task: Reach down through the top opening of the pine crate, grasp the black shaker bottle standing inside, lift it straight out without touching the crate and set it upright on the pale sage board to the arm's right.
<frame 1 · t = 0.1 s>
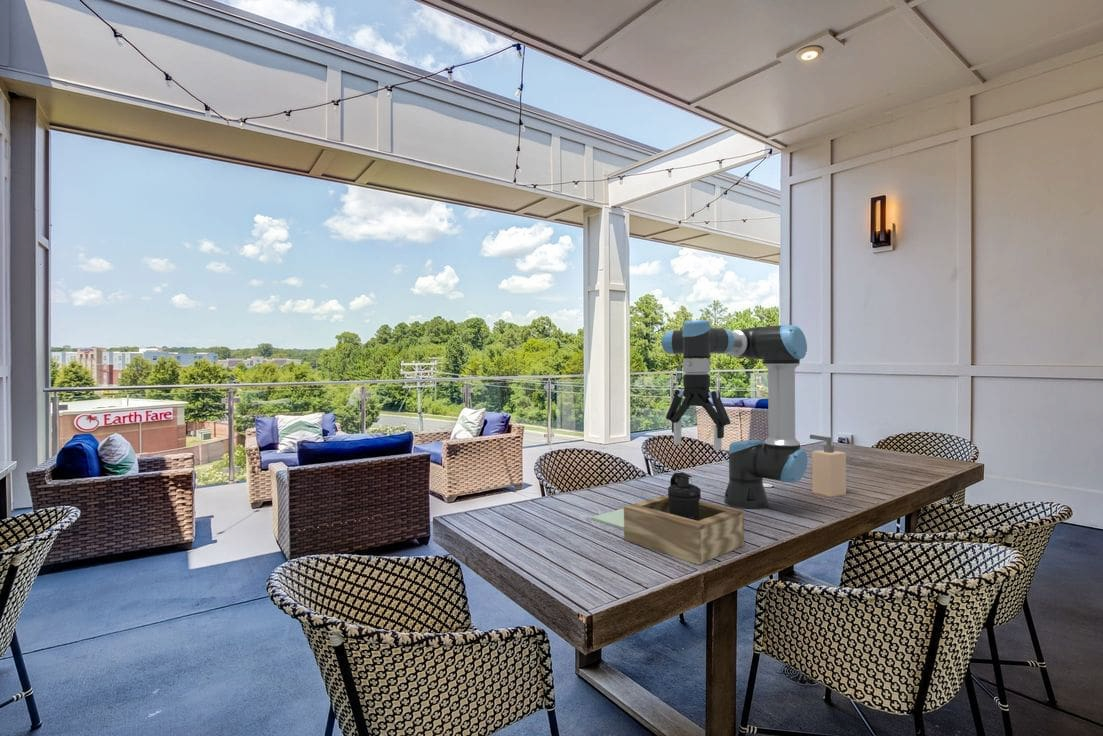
hand: (697, 447, 155), 28 cm above the table, fingers open, 13 cm apart
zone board: (625, 520, 179), on the table
crate: (683, 542, 157), on the table
black shaker bottle: (683, 543, 157), resting in crate
soap dispenser: (824, 492, 213), on the table
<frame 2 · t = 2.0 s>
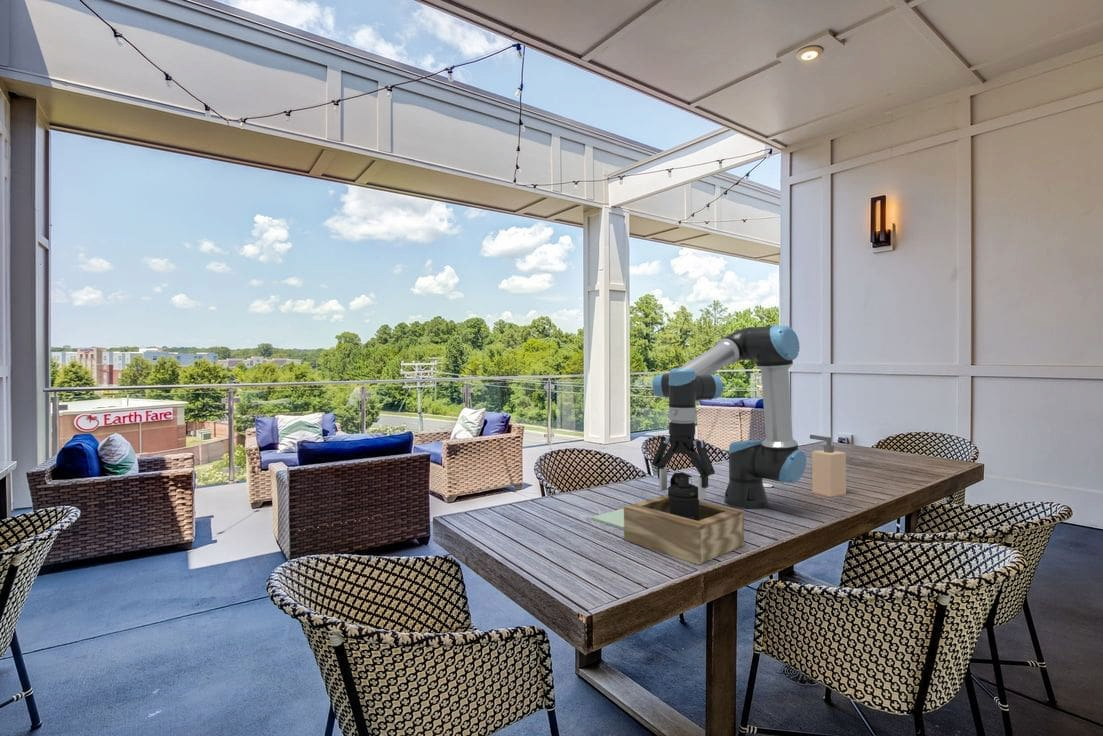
hand: (682, 494, 156), 14 cm above the table, fingers open, 13 cm apart
nothing on the table moved.
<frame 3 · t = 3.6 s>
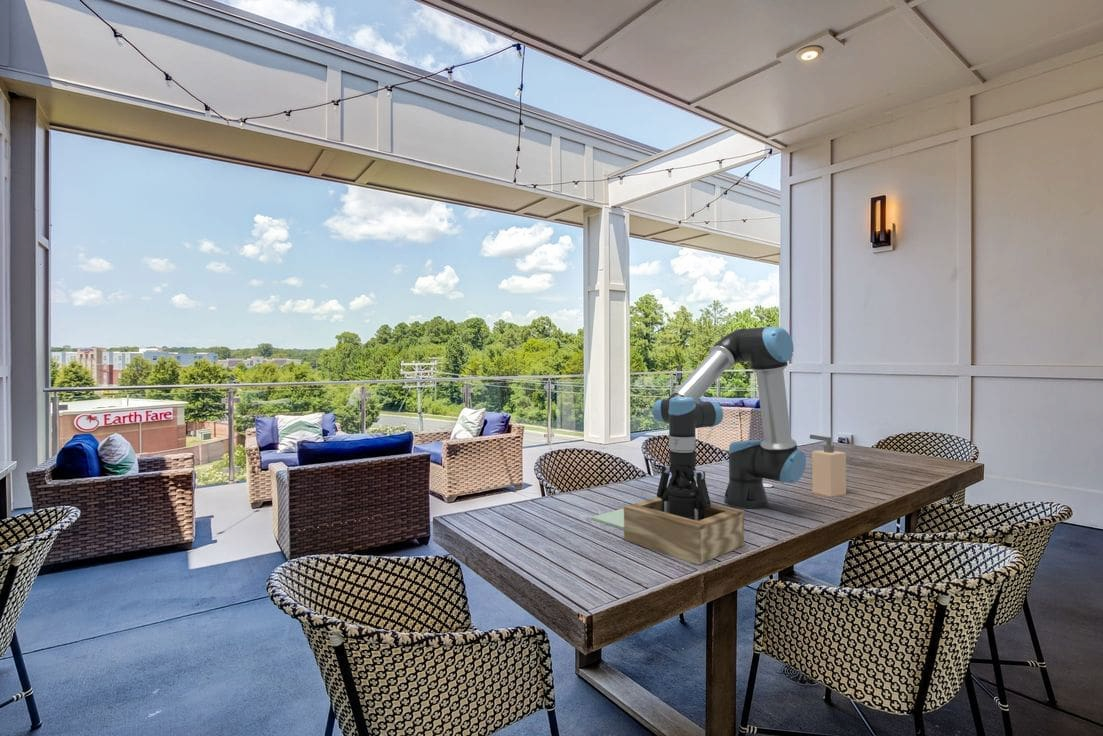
hand: (683, 526, 156), 5 cm above the table, fingers closed on black shaker bottle, 10 cm apart
black shaker bottle: (682, 543, 157), resting in crate, touching gripper
everything else where it was.
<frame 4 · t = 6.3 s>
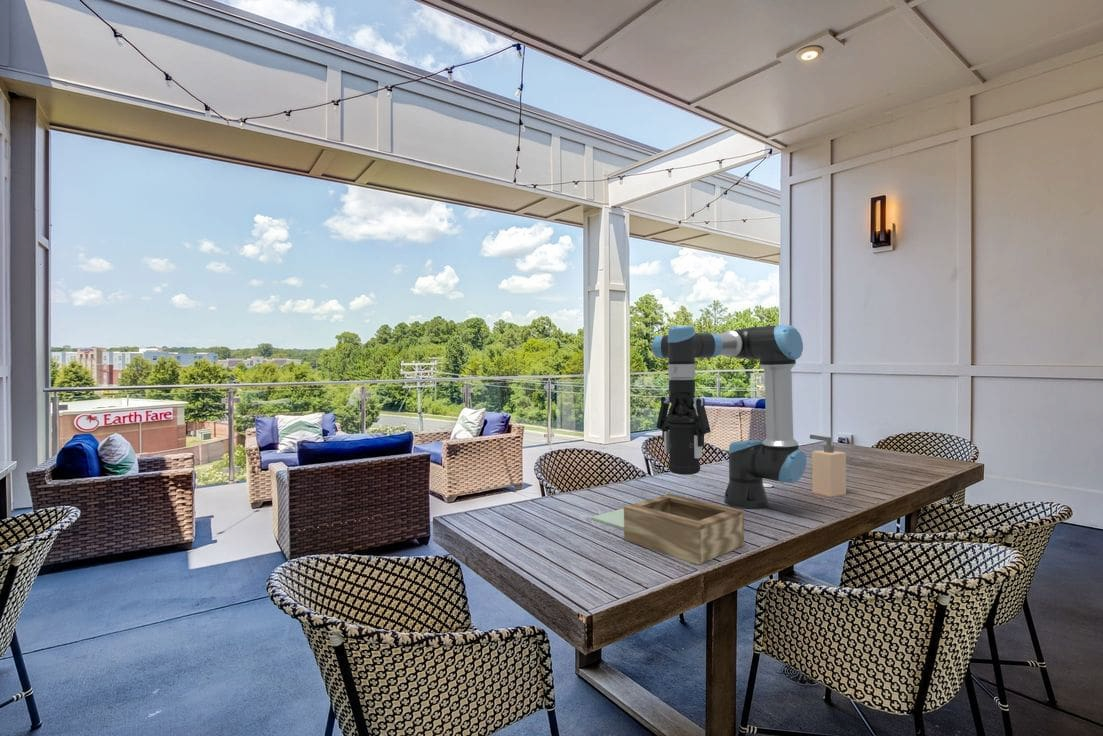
hand: (682, 455, 156), 26 cm above the table, fingers closed on black shaker bottle, 10 cm apart
black shaker bottle: (682, 472, 157), point 21 cm above the table, touching gripper
everything else where it was.
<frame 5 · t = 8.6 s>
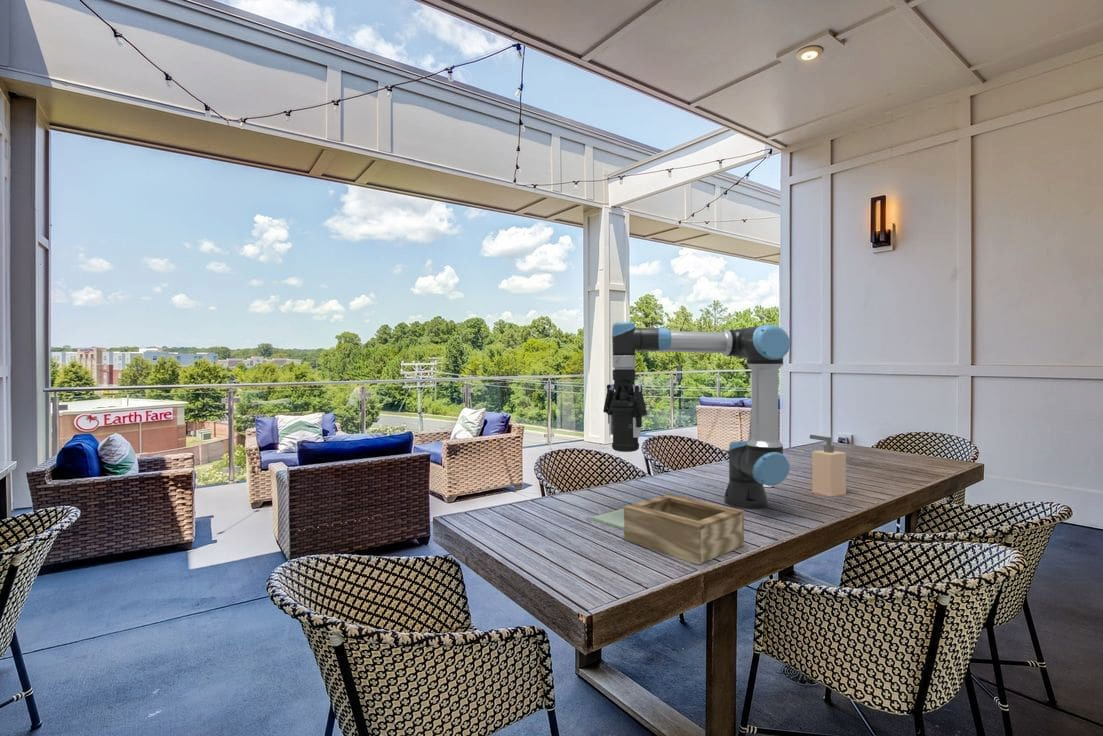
hand: (624, 435, 179), 28 cm above the table, fingers closed on black shaker bottle, 10 cm apart
black shaker bottle: (624, 450, 179), point 23 cm above the table, touching gripper
everything else where it was.
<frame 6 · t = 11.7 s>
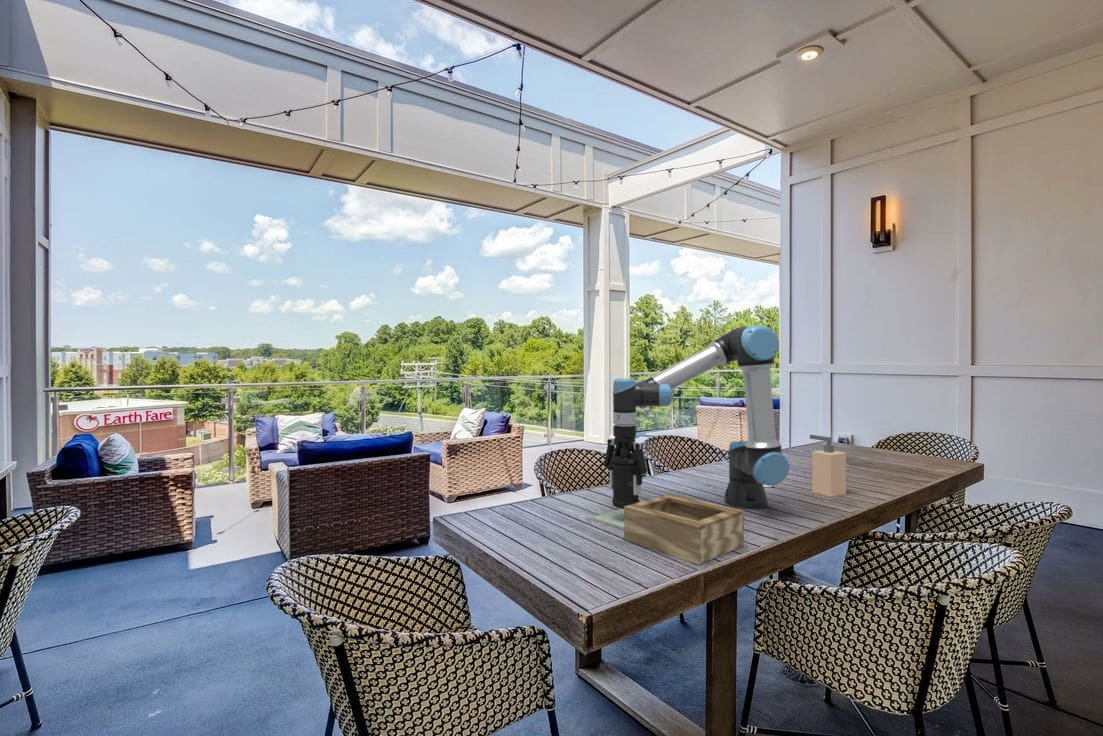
hand: (625, 491, 179), 10 cm above the table, fingers closed on black shaker bottle, 10 cm apart
black shaker bottle: (624, 506, 179), point 5 cm above the table, touching gripper
everything else where it was.
when the fingers open (7 cm above the table, at t = 13.5 s): black shaker bottle drops 1 cm, resting on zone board.
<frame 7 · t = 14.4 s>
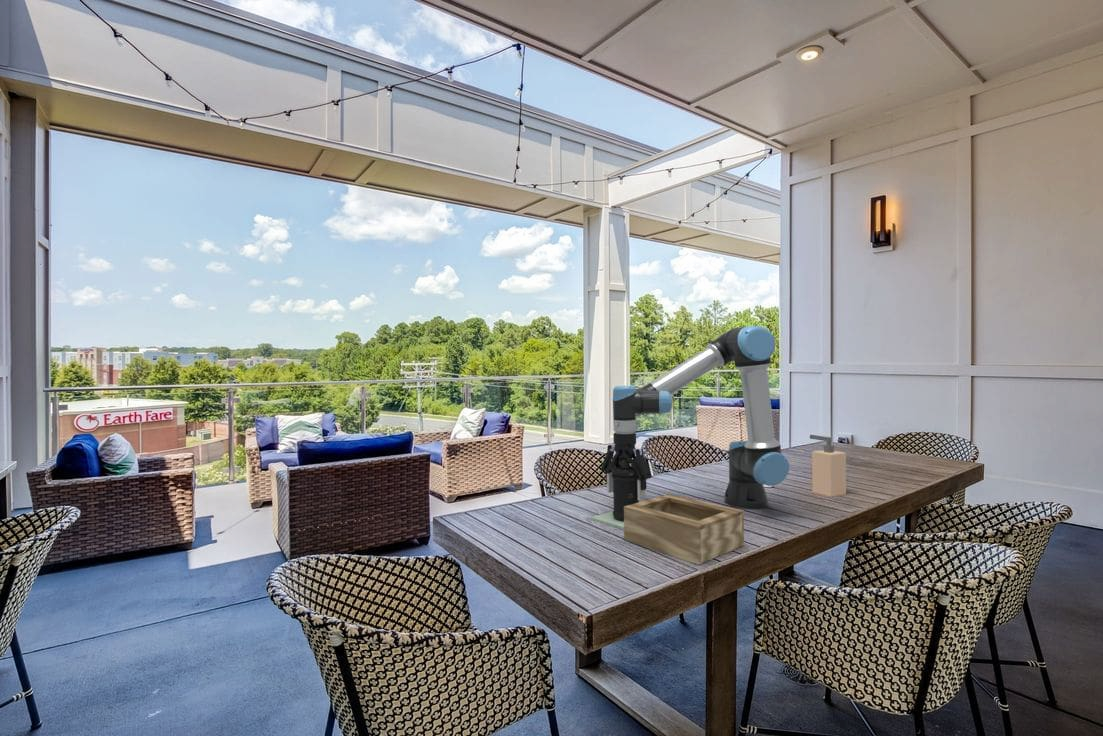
hand: (625, 495, 179), 8 cm above the table, fingers open, 13 cm apart
black shaker bottle: (625, 517, 179), point 1 cm above the table, touching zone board
everything else where it was.
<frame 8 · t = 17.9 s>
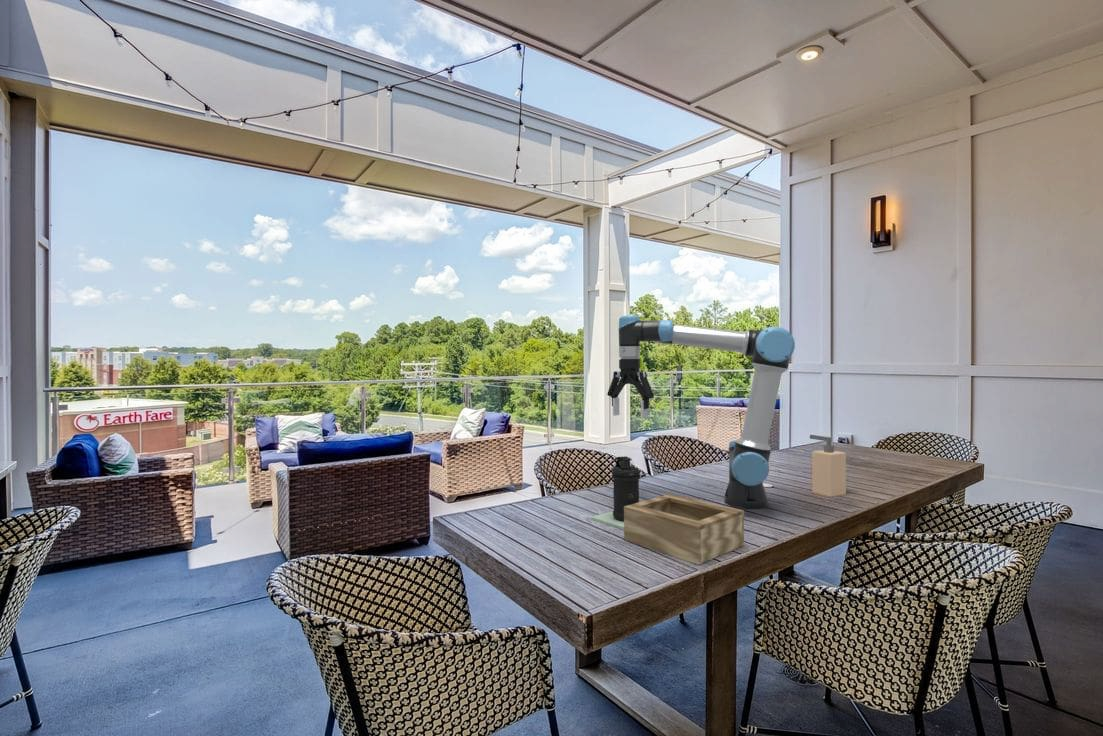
hand: (629, 416, 195), 33 cm above the table, fingers open, 13 cm apart
nothing on the table moved.
at the end: black shaker bottle inside the target area on the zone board (0.1 cm from its centre), point 0.6 cm above the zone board's base; black shaker bottle tilted 0°; black shaker bottle touching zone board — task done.
